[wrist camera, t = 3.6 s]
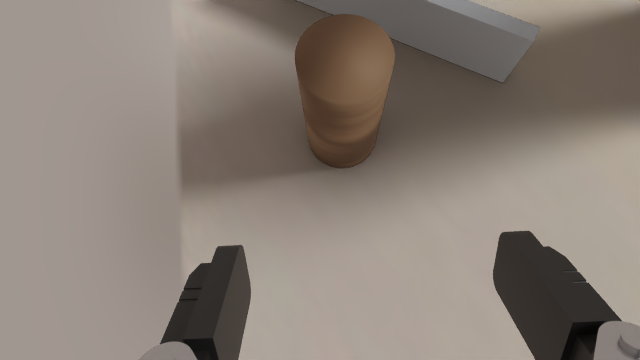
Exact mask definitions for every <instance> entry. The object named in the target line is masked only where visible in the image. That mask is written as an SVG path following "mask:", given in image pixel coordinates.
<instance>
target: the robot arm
mask: <svg viewBox="0 0 640 360" xmlns="http://www.w3.org/2000/svg"><path fill="white" fill-rule="evenodd" d="M493 280H494V285H495V288H496V291H497V292H498V294H499V296H500V298H501V300H502V301H503V303H504V305H505V307H506V308H507V310H508V312H509V314H510V315H511V317H512V319H513V321H514V323H515V324H516V326H517V328H518V330H519V331H520V333H521V335H522V337H523V338H524V340H525V342H526V344H527V346H528V347H529V349H530V351H531V353H532V354H533V356H534V358H535V360H640V326H637V325H635V324H631V323H628V322H622V320H621V319H620V318H619V317H618V316H617V315H616V314H615V312H614V311H613V310H612V309H611V308H610V307H609V306H608V304H607V303H606V302H605V301H604V300H603V299H602V298H601V296H600V295H599V294H598V293H597V292H596V291H595V290H594V289H593V287H592V286H591V285H590V284H589V283H587V282H586V279H585V278H584V277H583V276H582V275H581V274H580V273H579V272H577V269H576V268H575V267H574V266H573V265H572V263H571V262H570V261H569V260H568V259H567V258H566V257H565V256H563V255H562V254H560V253H559V252H557V251H556V250H554V249H552V248H551V247H549V246H547V247H543V246H542V245H541V243H540V242H539V241H538V240H537V239H536V237H535V236H534V235H533V234H532V233H531V232H530V231H514V232H502V233H501V235H500V237H499V242H498V248H497V253H496V259H495V264H494V269H493ZM250 297H251V286H250V279H249V274H248V269H247V263H246V258H245V253H244V248H243V246H242V245H234V246H218V247H217V249H216V251H215V254H214V256H213V259H212V262H211V263H202V264H200V265H199V266H198V267H197V268H196V269H195V270H194V271H193V272H192V273H191V274H190V275H189V277H188V280H187V282H186V284H185V287H184V291H183V292H182V294H181V296H180V299H179V302H178V303H177V305H176V308H175V310H174V312H173V315H172V317H171V319H170V322H169V324H168V326H167V329H166V331H165V333H164V336H163V338H162V340H161V343H160V345H158V346H156V347H154V348H152V349H150V350H149V351H148V352H147V353H145V354H144V355H143V356H142V357H141V358H140V359H139V360H238V357H239V353H240V348H241V343H242V338H243V333H244V329H245V324H246V319H247V314H248V309H249V305H250Z"/></svg>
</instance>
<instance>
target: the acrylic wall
mask: <svg viewBox="0 0 640 360" xmlns="http://www.w3.org/2000/svg"><path fill="white" fill-rule="evenodd" d="M297 1H299V2H302V3H304V4H307V5H309V6H312V7H314V8H317V9H319V10H322V11H324V12H327V13H329V14H332V15H339V14H352V15H358V16H362V17H365V18H367V19H369V20H372V21H373V22H375V23H377V24H378V25H379V26H380V27H382V28H383V29H384V31H385V32H386V33H387V34H388V36H389V37H390V38H392V39H394V40H397V41H399V42H402V43H404V44H407V45H409V46H412V47H414V48H417V49H419V50H422V51H424V52H427V53H429V54H432V55H434V56H437V57H439V58H442V59H444V60H447V61H449V62H452V63H454V64H457V65H459V66H462V67H464V68H467V69H469V70H472V71H474V72H477V73H479V74H482V75H484V76H487V77H489V78H492V79H494V80H497V81H499V82H502V83H503V82H504V81H505V79H506V78H507V77H508V75H509V74H510V73H511V71H512V70H513V69H514V67H515V66H516V65H517V63H518V62H519V61H520V59H521V58H522V57H523V55H524V54H525V53H526V51H527V50H528V49H529V48H530V46H531V45H532V44H533V42H534V41H535V38H536V36H537V34H538V31H539V29H540V27H538V26H536V25H533V24H530V23H528V22H525V21H522V20H519V19H517V18H514V17H511V16H509V15H506V14H503V13H500V12H498V11H495V10H492V9H490V8H487V7H484V6H481V5H479V4H476V3H473V2H471V1H468V0H297Z"/></svg>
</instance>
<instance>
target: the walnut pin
mask: <svg viewBox="0 0 640 360" xmlns="http://www.w3.org/2000/svg"><path fill="white" fill-rule="evenodd" d="M394 62H395V51H394V46H393V44H392V41H391V39H390V37H389V36H388V34H387V33H386V32H385V31H384V29H383V28H382V27H380V26H379V25H378V24H377V23H375V22H373V21H372V20H369V19H367V18H365V17H362V16H358V15H352V14H339V15H333V16H329V17H326V18H323V19H321V20H319V21H317V22H316V23H314V24H313V25H311V26H310V27H309V28H308V29H307V30H306V31H305V32H304V33H303V35H302V36H301V38H300V40H299V42H298V44H297V47H296V51H295V64H296V70H297V76H298V81H299V87H300V93H301V99H302V105H303V110H304V116H305V122H306V128H307V134H308V139H309V144H310V147H311V150H312V151H313V153H314V155H315V156H316V157H317V158H318V159H319V160H320V161H322V162H323V163H325V164H327V165H329V166H332V167H337V168H348V167H352V166H355V165H358V164H359V163H361V162H363V161H364V160H365V159H366V158H367V157H368V156H369V155H370V154H371V152H372V150H373V148H374V145H375V141H376V137H377V133H378V129H379V125H380V121H381V117H382V113H383V108H384V104H385V100H386V96H387V92H388V88H389V84H390V79H391V75H392V71H393V67H394Z"/></svg>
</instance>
